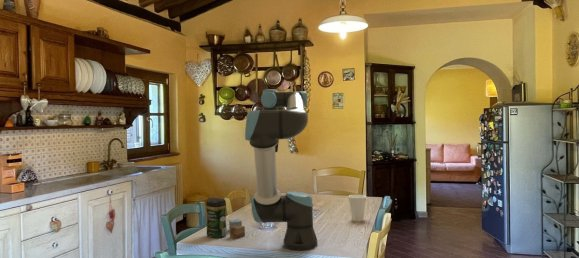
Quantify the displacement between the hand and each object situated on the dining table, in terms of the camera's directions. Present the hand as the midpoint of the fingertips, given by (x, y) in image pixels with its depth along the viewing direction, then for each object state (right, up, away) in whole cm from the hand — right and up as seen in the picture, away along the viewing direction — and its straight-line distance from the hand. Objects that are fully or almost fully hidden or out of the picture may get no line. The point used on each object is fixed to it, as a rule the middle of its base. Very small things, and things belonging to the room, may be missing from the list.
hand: (271, 165), depth 204 cm
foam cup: (+46, -31, +15) cm, 58 cm away
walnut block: (-16, -33, -12) cm, 39 cm away
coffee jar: (-26, -34, -10) cm, 44 cm away
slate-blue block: (-19, -33, 0) cm, 38 cm away
